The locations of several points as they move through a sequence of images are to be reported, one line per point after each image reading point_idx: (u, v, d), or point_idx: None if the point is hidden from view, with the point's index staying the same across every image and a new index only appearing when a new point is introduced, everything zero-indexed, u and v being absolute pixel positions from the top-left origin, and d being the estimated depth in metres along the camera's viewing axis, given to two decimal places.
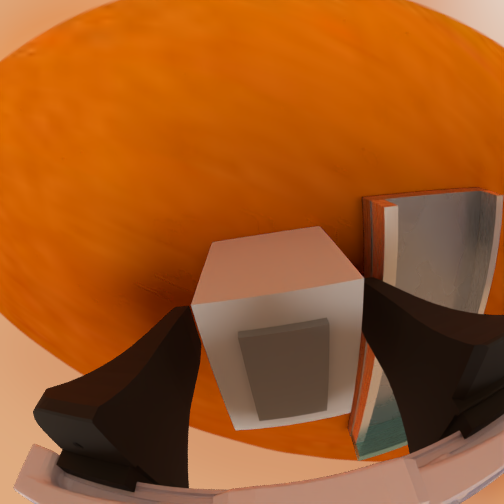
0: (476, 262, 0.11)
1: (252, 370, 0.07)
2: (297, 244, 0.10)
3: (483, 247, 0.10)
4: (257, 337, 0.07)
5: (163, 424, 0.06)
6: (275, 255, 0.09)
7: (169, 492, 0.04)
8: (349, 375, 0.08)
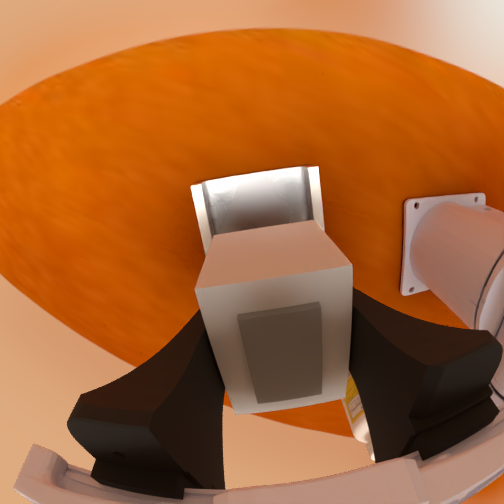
0: None
1: (250, 352, 0.08)
2: (293, 236, 0.11)
3: (310, 212, 0.17)
4: (255, 319, 0.08)
5: (204, 424, 0.06)
6: (272, 246, 0.10)
7: None
8: (342, 359, 0.09)
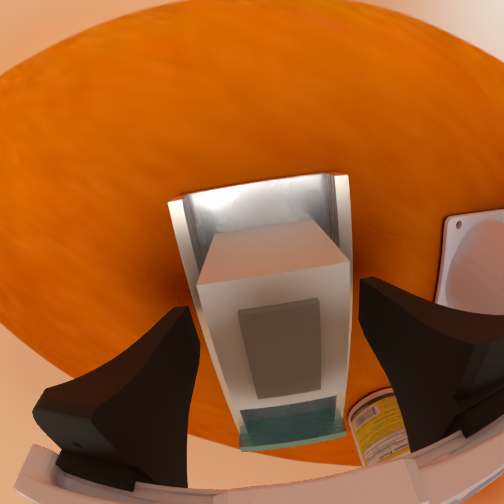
0: None
1: (250, 347, 0.08)
2: (292, 234, 0.11)
3: (334, 237, 0.12)
4: (255, 314, 0.08)
5: (162, 424, 0.06)
6: (272, 244, 0.10)
7: (169, 492, 0.04)
8: (340, 355, 0.09)
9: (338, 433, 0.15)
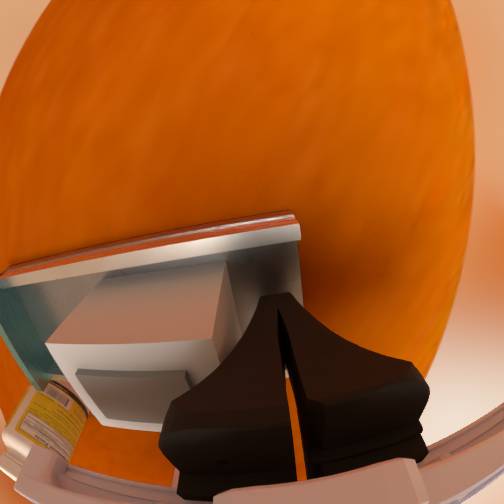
0: None
1: (145, 381, 0.07)
2: None
3: None
4: (186, 387, 0.07)
5: None
6: (233, 347, 0.10)
7: (169, 492, 0.04)
8: (148, 427, 0.08)
9: (37, 385, 0.12)
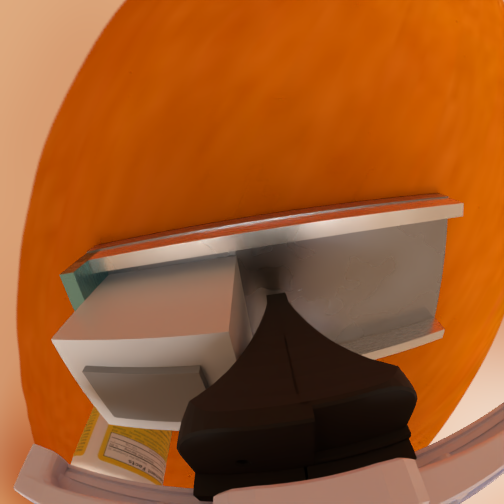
0: (374, 337, 0.13)
1: (157, 378, 0.07)
2: None
3: (397, 335, 0.12)
4: (200, 383, 0.07)
5: None
6: (245, 342, 0.10)
7: (169, 492, 0.04)
8: (157, 426, 0.08)
9: None
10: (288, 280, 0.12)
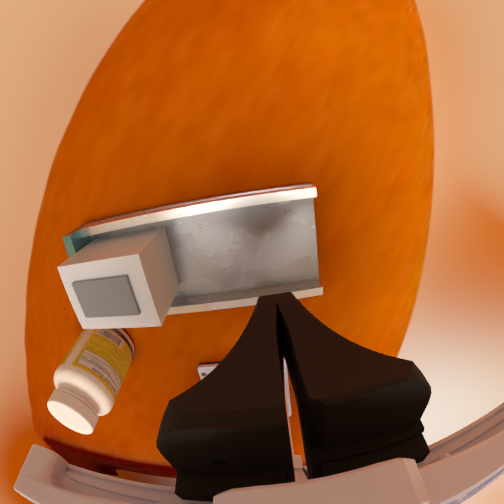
0: (265, 289, 0.20)
1: (107, 282, 0.14)
2: (169, 282, 0.18)
3: (280, 288, 0.19)
4: (127, 284, 0.14)
5: None
6: (162, 275, 0.17)
7: (169, 492, 0.04)
8: (109, 325, 0.15)
9: None
10: (193, 242, 0.18)
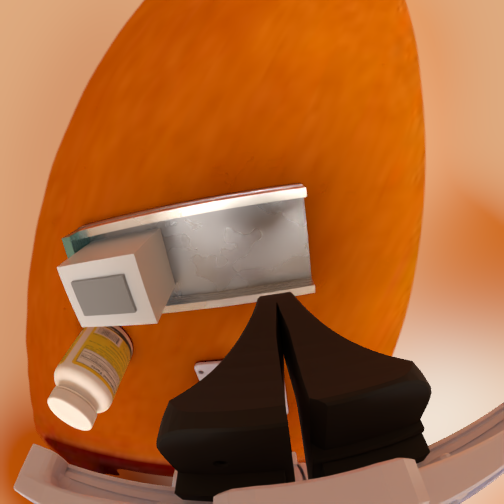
0: (258, 288, 0.20)
1: (104, 281, 0.14)
2: (164, 281, 0.18)
3: (273, 287, 0.20)
4: (123, 283, 0.14)
5: None
6: (158, 274, 0.17)
7: (169, 492, 0.04)
8: (107, 323, 0.16)
9: None
10: (188, 243, 0.19)
